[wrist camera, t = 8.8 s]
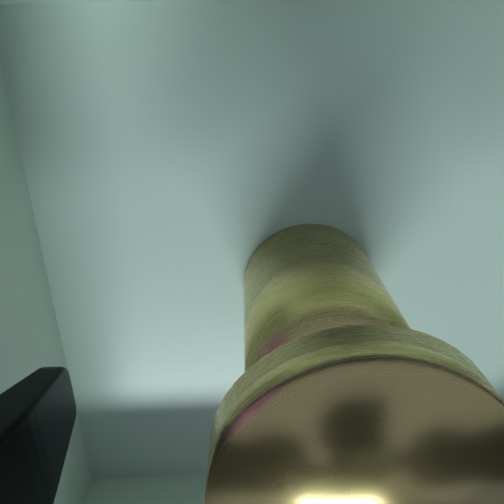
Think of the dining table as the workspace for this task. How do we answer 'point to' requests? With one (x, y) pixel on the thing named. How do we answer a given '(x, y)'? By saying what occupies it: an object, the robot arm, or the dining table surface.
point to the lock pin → (347, 392)
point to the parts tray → (231, 197)
